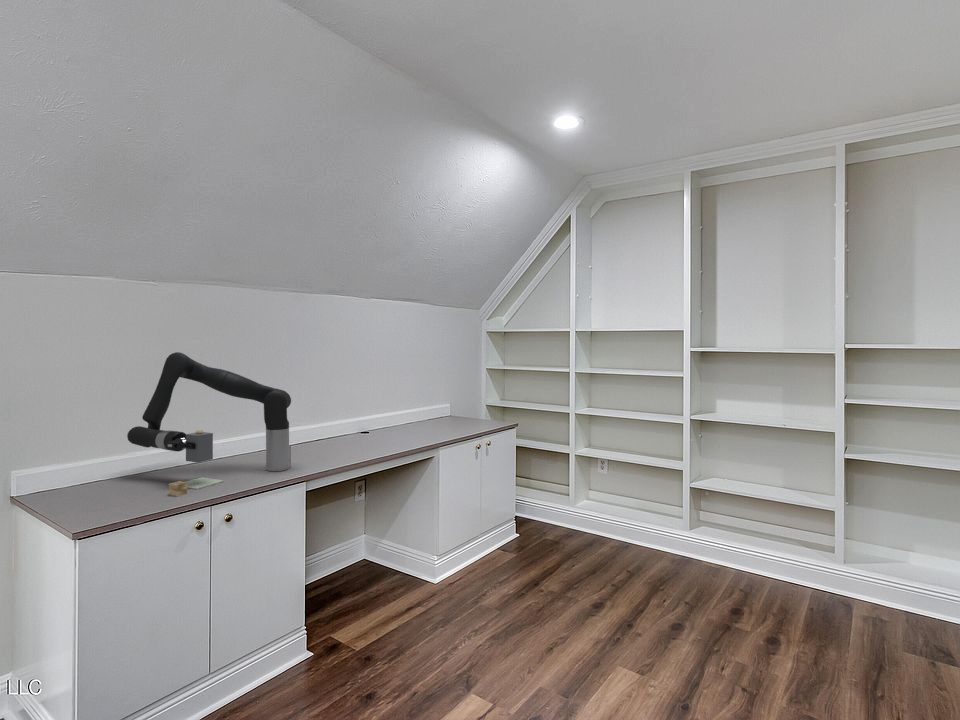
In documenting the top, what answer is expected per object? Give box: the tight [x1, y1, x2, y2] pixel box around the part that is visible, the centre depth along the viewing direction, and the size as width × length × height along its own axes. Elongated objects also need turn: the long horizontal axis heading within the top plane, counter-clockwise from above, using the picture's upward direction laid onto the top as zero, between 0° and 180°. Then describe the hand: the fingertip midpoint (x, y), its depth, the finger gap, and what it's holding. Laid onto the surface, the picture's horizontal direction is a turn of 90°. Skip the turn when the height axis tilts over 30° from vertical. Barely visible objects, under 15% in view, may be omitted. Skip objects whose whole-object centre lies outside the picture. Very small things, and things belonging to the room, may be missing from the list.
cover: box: [185, 430, 214, 464], centre depth 207 cm, size 6×6×11 cm
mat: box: [185, 477, 225, 490], centre depth 208 cm, size 12×12×1 cm
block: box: [168, 480, 188, 497], centre depth 194 cm, size 4×4×4 cm
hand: (203, 444), depth 206 cm, fingers closed on cover, 6 cm apart
